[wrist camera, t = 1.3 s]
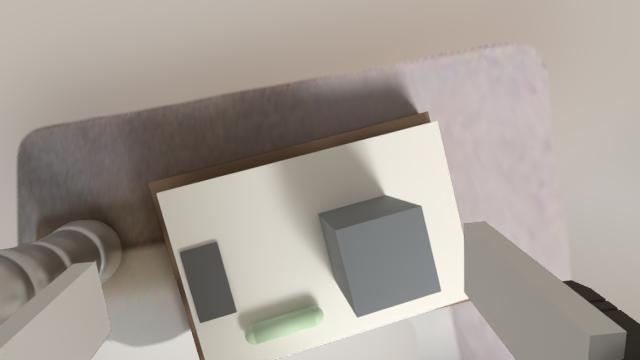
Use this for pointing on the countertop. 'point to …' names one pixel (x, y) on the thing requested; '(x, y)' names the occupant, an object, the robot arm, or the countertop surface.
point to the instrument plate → (318, 245)
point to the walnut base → (260, 161)
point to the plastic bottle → (55, 261)
